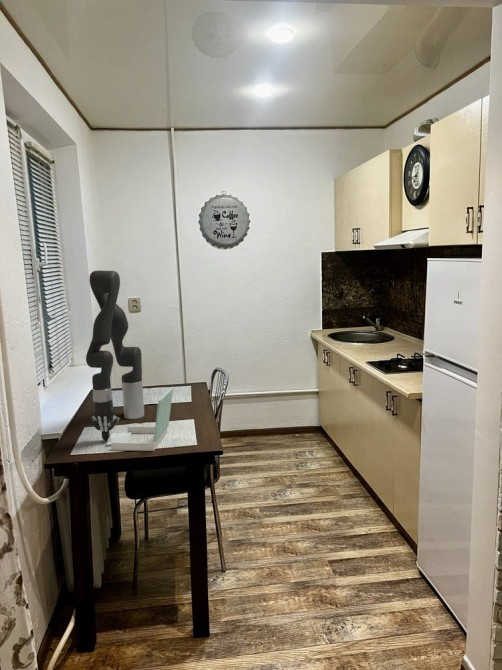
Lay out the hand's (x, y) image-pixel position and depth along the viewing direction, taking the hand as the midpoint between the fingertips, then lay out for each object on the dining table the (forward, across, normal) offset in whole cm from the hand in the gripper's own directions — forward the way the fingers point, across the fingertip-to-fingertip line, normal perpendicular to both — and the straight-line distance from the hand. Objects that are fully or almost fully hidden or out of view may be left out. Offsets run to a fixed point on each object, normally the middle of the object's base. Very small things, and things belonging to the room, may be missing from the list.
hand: (106, 439), depth 199 cm
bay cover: (-11, -25, 0) cm, 27 cm away
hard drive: (+1, -5, -1) cm, 5 cm away
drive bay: (0, -15, 0) cm, 15 cm away
